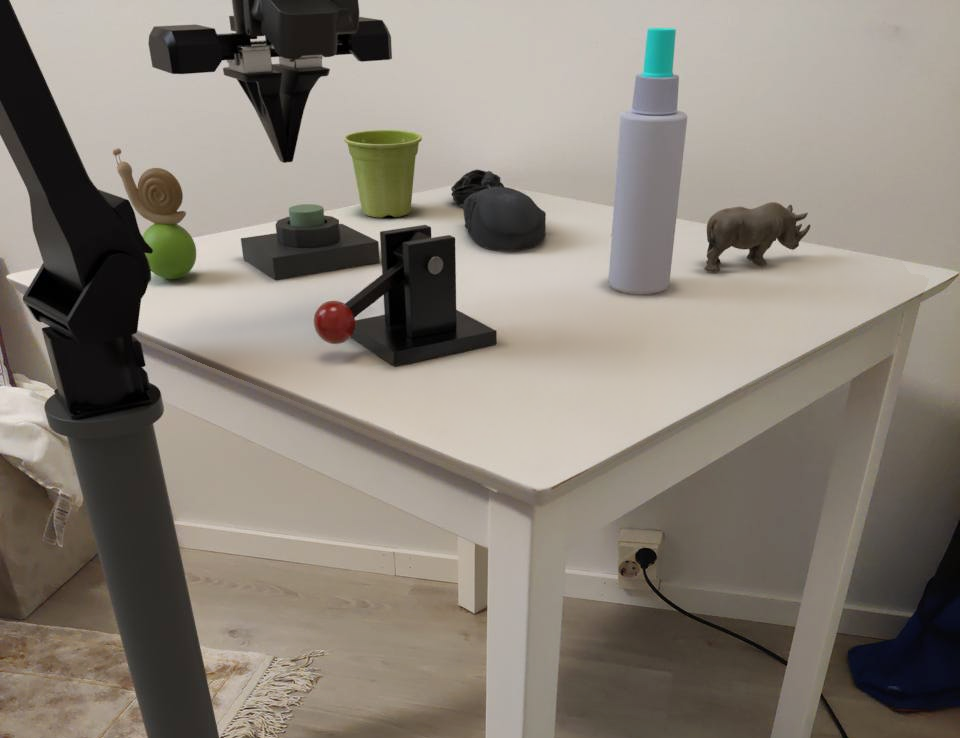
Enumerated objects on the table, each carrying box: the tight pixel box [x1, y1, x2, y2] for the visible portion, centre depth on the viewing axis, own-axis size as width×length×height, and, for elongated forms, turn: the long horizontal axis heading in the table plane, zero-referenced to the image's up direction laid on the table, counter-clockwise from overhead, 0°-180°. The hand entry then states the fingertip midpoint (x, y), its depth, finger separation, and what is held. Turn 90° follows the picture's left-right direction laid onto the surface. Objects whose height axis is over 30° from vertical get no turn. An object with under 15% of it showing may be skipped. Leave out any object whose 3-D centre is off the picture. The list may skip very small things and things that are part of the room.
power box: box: [240, 214, 381, 281], centre depth 105 cm, size 12×9×4 cm
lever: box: [313, 232, 432, 345], centre depth 82 cm, size 12×3×3 cm, turn 122°
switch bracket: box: [350, 224, 498, 367], centre depth 84 cm, size 10×9×9 cm
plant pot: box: [343, 129, 423, 219], centre depth 121 cm, size 9×9×9 cm
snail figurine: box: [112, 147, 197, 280], centre depth 98 cm, size 5×6×12 cm
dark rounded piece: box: [450, 169, 547, 251], centre depth 120 cm, size 10×32×6 cm, turn 9°
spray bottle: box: [608, 27, 688, 295], centre depth 92 cm, size 6×6×22 cm
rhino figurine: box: [703, 201, 811, 273], centre depth 104 cm, size 4×14×6 cm, turn 114°
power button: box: [288, 203, 325, 227], centre depth 104 cm, size 4×4×2 cm
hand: (286, 161), depth 84 cm, fingers closed
